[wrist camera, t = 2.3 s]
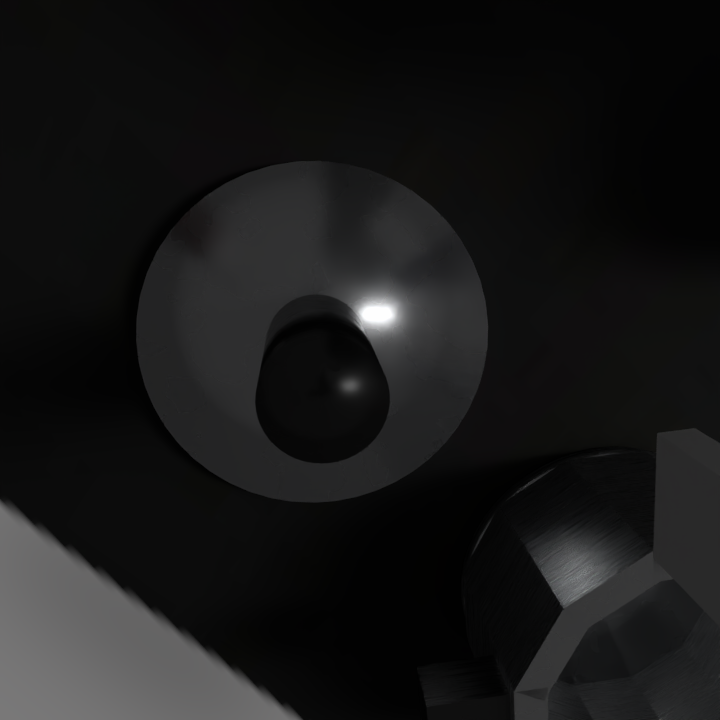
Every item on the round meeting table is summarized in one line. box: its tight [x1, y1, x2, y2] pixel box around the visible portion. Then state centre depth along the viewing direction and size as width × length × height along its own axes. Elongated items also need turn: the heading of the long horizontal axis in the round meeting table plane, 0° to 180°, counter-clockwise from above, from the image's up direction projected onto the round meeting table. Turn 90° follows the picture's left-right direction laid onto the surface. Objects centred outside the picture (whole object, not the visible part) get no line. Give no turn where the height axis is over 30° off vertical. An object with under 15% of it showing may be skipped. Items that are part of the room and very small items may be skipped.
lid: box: [136, 161, 488, 503], centre depth 23 cm, size 14×14×8 cm
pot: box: [417, 447, 720, 720], centre depth 28 cm, size 13×26×8 cm, turn 95°
